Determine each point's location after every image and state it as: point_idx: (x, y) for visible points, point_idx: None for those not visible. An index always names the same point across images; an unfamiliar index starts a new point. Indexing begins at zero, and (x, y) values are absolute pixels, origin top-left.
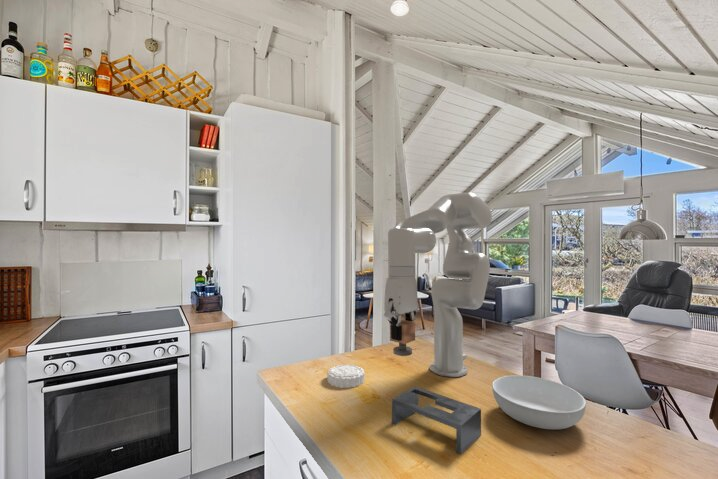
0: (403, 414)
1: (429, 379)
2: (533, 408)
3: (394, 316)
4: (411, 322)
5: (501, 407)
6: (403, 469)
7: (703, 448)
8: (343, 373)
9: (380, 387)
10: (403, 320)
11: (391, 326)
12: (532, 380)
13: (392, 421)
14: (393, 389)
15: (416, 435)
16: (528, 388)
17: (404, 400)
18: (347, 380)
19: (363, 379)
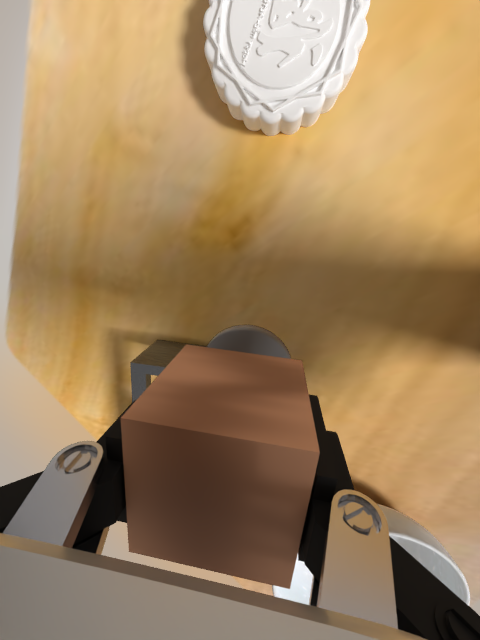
0: None
1: (448, 304)
2: (274, 591)
3: (71, 546)
4: (255, 571)
5: None
6: (74, 410)
7: None
8: (246, 44)
9: (300, 207)
10: (285, 496)
11: (117, 428)
12: (457, 585)
13: (155, 342)
14: (310, 249)
15: None
16: (438, 555)
17: (145, 389)
18: (226, 102)
19: (305, 123)
